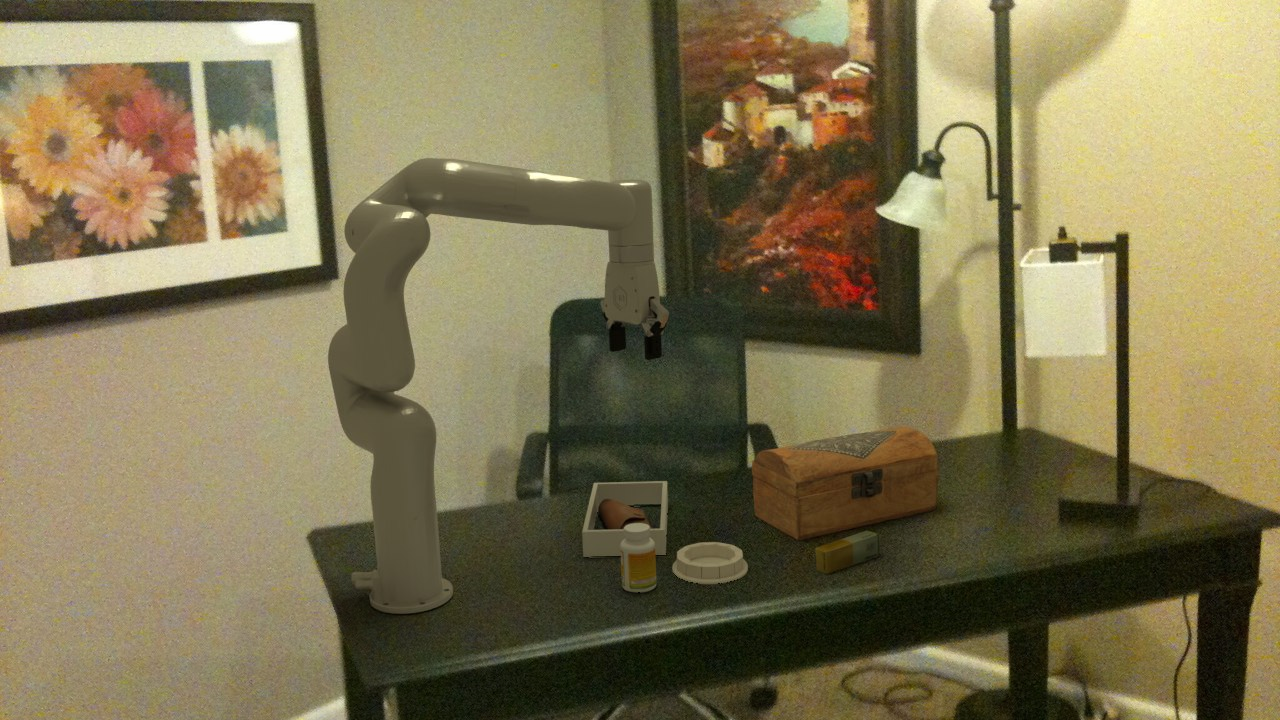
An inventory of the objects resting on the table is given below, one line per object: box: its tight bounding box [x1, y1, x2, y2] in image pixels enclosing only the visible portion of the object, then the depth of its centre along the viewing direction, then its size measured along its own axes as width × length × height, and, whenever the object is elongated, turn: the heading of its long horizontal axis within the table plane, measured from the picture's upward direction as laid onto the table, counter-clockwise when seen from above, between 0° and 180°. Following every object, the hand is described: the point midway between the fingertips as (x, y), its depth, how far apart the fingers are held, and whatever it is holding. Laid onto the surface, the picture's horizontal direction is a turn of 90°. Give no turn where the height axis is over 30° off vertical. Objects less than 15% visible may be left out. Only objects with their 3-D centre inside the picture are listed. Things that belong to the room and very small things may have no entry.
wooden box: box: [751, 426, 939, 541], centre depth 213 cm, size 30×16×14 cm, turn 114°
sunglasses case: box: [598, 499, 653, 530], centre depth 210 cm, size 18×7×7 cm
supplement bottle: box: [620, 523, 657, 593], centre depth 185 cm, size 5×5×10 cm
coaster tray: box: [671, 541, 749, 585], centre depth 191 cm, size 12×12×3 cm
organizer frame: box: [581, 480, 669, 558], centre depth 210 cm, size 14×26×4 cm, turn 178°
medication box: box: [814, 529, 881, 575], centre depth 192 cm, size 12×3×4 cm, turn 125°
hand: (635, 354), depth 205 cm, fingers open, 9 cm apart
